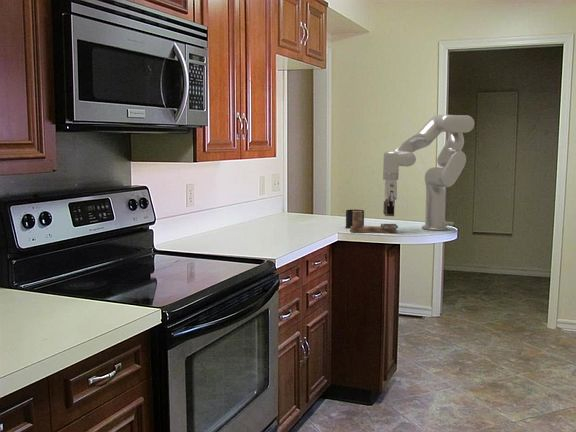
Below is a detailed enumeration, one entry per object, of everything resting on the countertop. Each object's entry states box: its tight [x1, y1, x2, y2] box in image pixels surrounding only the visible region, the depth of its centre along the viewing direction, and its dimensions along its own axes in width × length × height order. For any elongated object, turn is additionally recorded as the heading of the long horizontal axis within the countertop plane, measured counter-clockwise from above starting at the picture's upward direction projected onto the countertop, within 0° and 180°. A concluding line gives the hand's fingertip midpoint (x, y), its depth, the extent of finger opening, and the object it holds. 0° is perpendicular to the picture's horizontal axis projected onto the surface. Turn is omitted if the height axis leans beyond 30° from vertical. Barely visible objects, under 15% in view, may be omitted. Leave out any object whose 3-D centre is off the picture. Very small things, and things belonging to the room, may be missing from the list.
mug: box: [345, 208, 365, 229], centre depth 325 cm, size 9×12×9 cm
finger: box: [382, 198, 396, 217], centre depth 309 cm, size 5×4×8 cm
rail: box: [349, 211, 399, 234], centre depth 310 cm, size 23×7×10 cm, turn 89°
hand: (389, 213), depth 309 cm, fingers closed on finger, 4 cm apart
